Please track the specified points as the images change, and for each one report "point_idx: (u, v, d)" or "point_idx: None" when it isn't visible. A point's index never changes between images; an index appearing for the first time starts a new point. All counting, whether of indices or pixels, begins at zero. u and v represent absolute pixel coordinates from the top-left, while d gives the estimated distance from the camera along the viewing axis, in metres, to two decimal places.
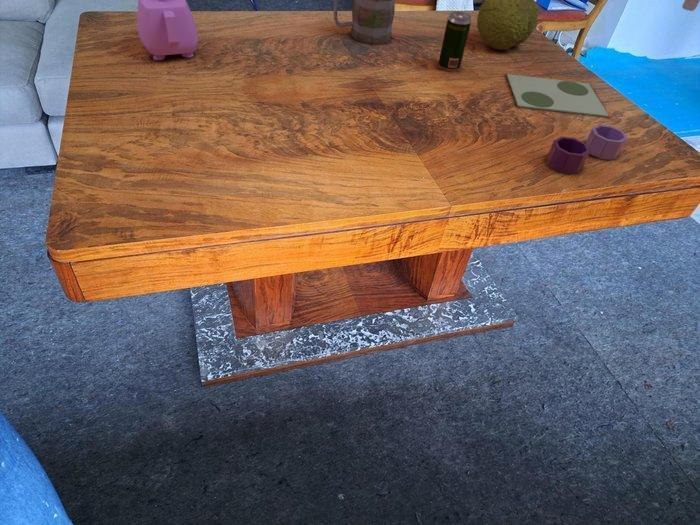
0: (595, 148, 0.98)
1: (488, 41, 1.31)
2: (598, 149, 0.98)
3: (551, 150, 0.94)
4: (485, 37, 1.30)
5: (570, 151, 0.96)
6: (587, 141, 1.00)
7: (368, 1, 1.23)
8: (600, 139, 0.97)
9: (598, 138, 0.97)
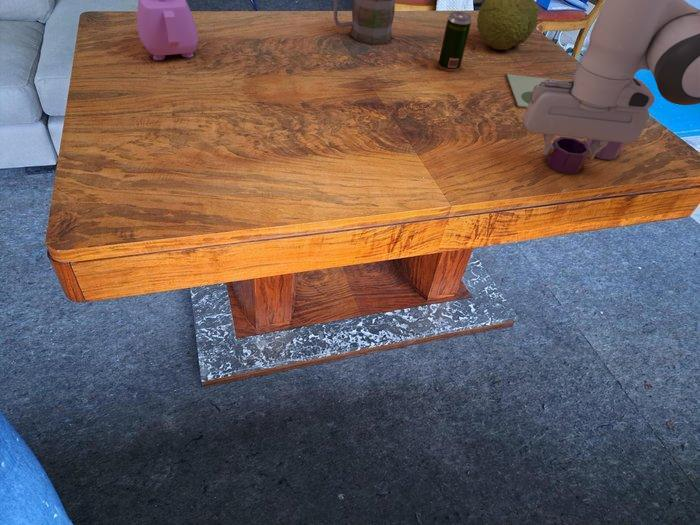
0: None
1: (488, 41, 1.31)
2: None
3: None
4: (485, 37, 1.30)
5: (570, 151, 0.96)
6: (587, 141, 1.00)
7: (368, 1, 1.23)
8: None
9: None
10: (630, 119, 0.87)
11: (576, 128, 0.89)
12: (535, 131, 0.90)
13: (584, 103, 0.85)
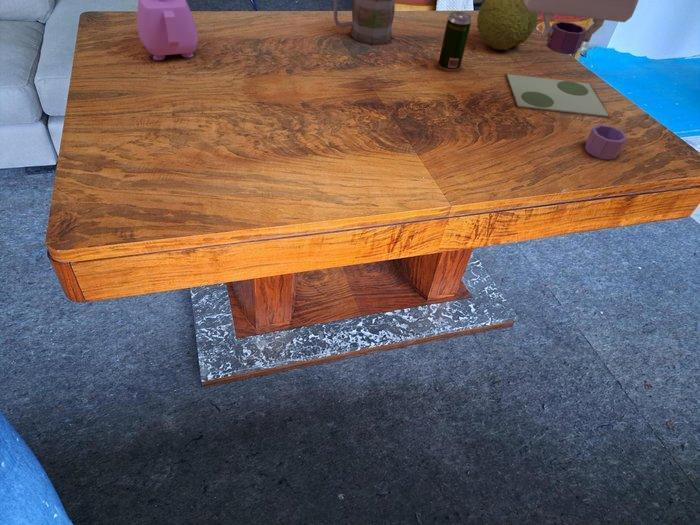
0: (595, 148, 0.98)
1: (488, 41, 1.31)
2: (598, 149, 0.98)
3: None
4: (485, 37, 1.30)
5: None
6: (587, 141, 1.00)
7: (368, 1, 1.23)
8: (600, 139, 0.97)
9: (598, 138, 0.97)
10: None
11: (573, 6, 0.95)
12: (535, 9, 0.96)
13: None
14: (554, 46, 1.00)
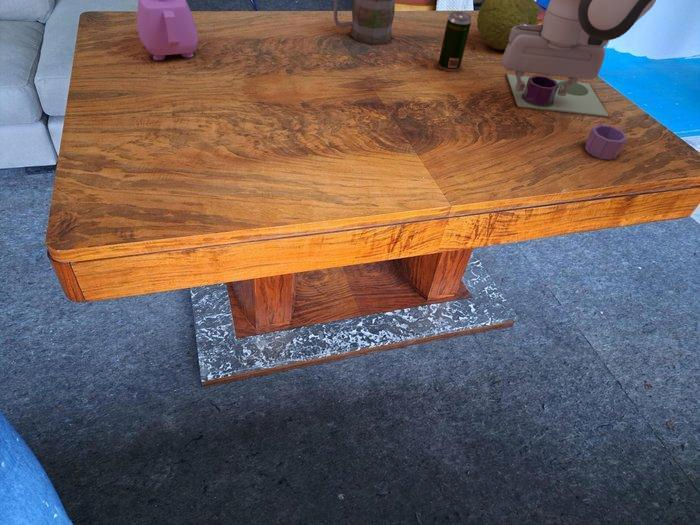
0: (595, 148, 0.98)
1: (488, 41, 1.31)
2: (598, 149, 0.98)
3: (526, 86, 1.12)
4: (485, 37, 1.30)
5: None
6: (587, 141, 1.00)
7: (368, 1, 1.23)
8: (600, 139, 0.97)
9: (598, 138, 0.97)
10: (590, 57, 1.05)
11: (545, 66, 1.07)
12: (512, 69, 1.08)
13: (551, 43, 1.03)
14: (530, 98, 1.12)
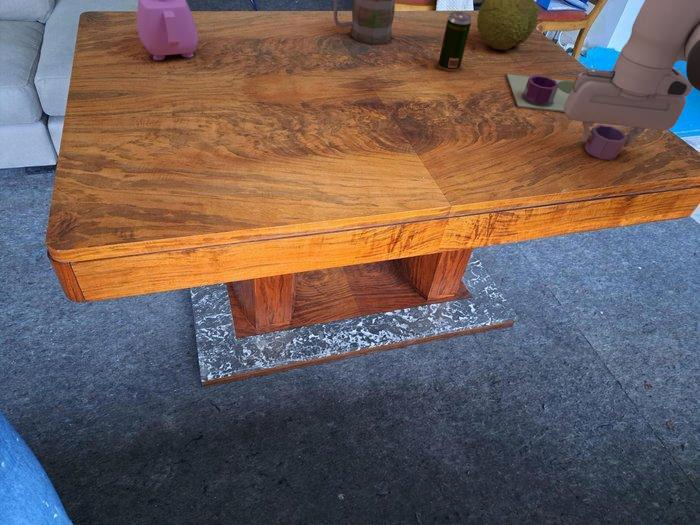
0: (594, 148, 0.98)
1: (488, 41, 1.31)
2: (598, 149, 0.98)
3: (526, 86, 1.12)
4: (485, 37, 1.30)
5: None
6: None
7: (368, 1, 1.23)
8: (600, 139, 0.97)
9: (598, 138, 0.97)
10: (667, 106, 0.92)
11: (615, 116, 0.94)
12: (576, 119, 0.94)
13: (625, 91, 0.90)
14: (530, 98, 1.12)
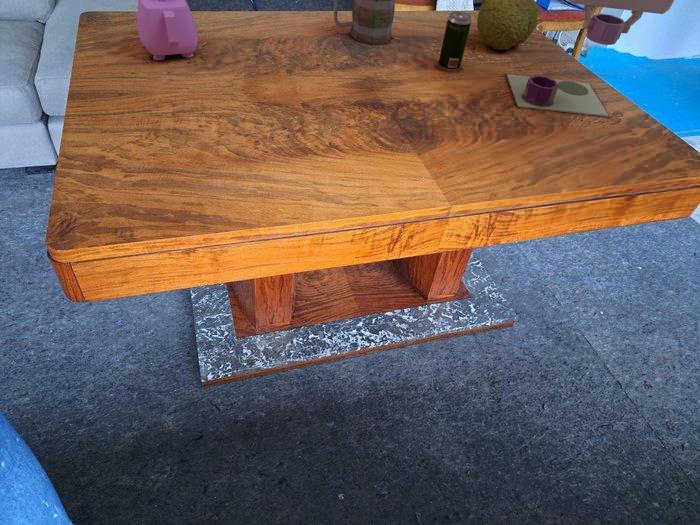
0: (595, 34, 1.05)
1: (488, 41, 1.31)
2: (598, 34, 1.04)
3: (526, 86, 1.12)
4: (485, 37, 1.30)
5: None
6: (588, 29, 1.06)
7: (368, 1, 1.23)
8: (600, 24, 1.03)
9: (599, 22, 1.03)
10: None
11: None
12: (578, 2, 1.01)
13: None
14: (530, 98, 1.12)
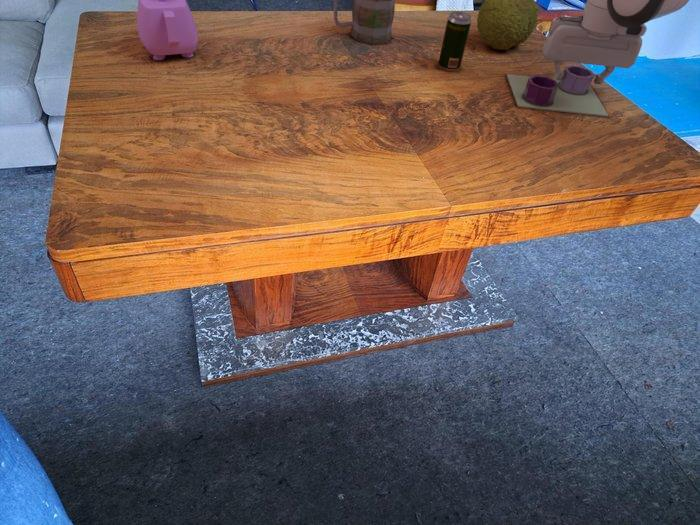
0: (567, 84, 1.17)
1: (488, 41, 1.31)
2: (570, 85, 1.17)
3: (526, 86, 1.12)
4: (485, 37, 1.30)
5: None
6: None
7: (368, 1, 1.23)
8: (571, 76, 1.16)
9: (570, 75, 1.16)
10: (627, 46, 1.11)
11: (584, 55, 1.12)
12: (552, 58, 1.13)
13: (591, 33, 1.08)
14: (530, 98, 1.12)
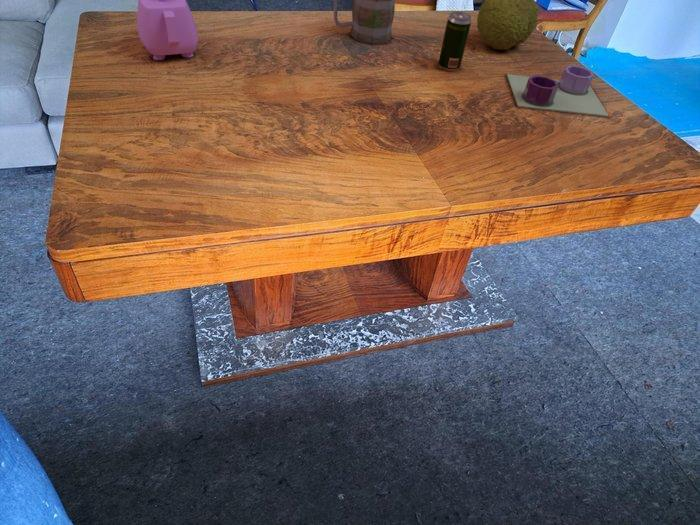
0: (567, 84, 1.17)
1: (488, 41, 1.31)
2: (570, 85, 1.17)
3: (526, 86, 1.12)
4: (485, 37, 1.30)
5: None
6: (561, 79, 1.19)
7: (368, 1, 1.23)
8: (571, 76, 1.16)
9: (570, 75, 1.16)
10: None
11: None
12: None
13: None
14: (530, 98, 1.12)
